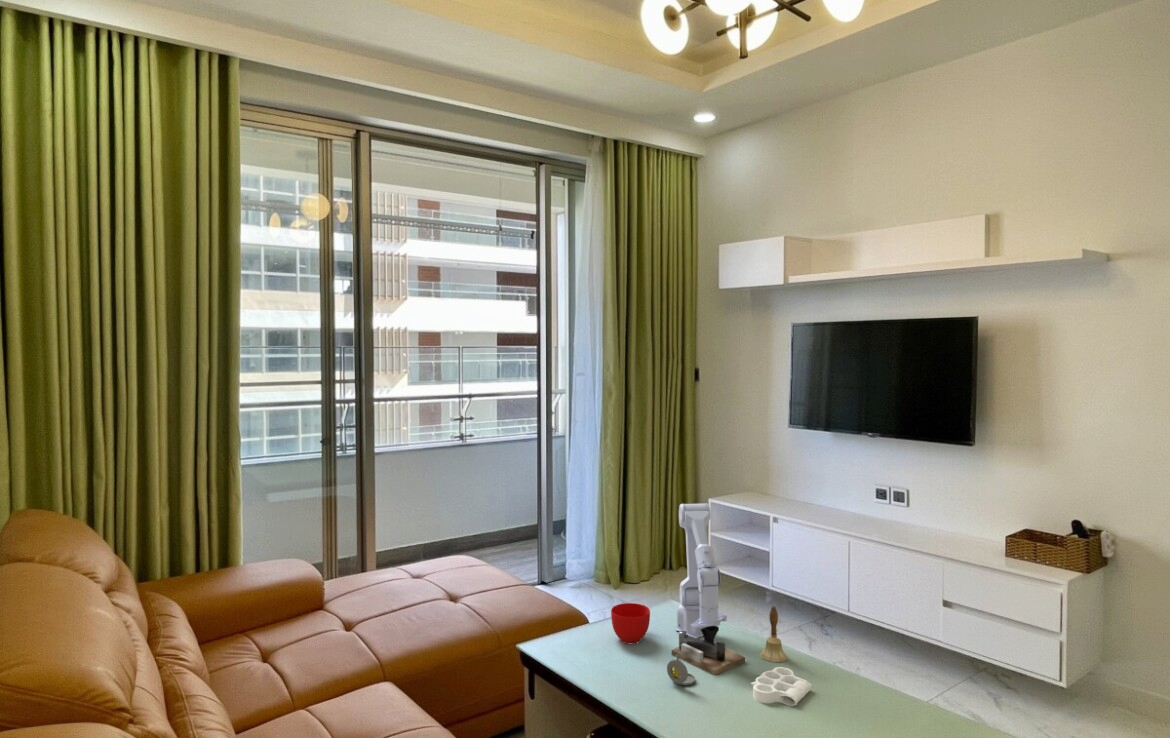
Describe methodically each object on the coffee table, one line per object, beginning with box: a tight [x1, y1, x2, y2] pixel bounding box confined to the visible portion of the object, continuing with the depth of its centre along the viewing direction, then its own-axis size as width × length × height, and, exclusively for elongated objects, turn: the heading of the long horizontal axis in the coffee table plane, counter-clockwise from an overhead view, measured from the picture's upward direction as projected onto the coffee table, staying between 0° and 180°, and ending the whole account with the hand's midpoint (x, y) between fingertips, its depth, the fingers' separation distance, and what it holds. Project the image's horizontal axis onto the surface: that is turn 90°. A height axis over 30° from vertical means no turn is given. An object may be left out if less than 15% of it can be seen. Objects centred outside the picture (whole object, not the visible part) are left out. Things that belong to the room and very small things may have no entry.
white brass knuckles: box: [750, 666, 813, 707], centre depth 200 cm, size 3×18×15 cm
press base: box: [671, 637, 746, 676], centre depth 221 cm, size 18×14×4 cm
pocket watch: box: [666, 652, 696, 686], centre depth 206 cm, size 8×8×10 cm
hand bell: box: [759, 605, 788, 663], centre depth 222 cm, size 8×8×16 cm
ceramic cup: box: [610, 602, 651, 644], centre depth 237 cm, size 13×17×10 cm
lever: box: [678, 631, 726, 661], centre depth 221 cm, size 16×3×5 cm, turn 54°
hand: (708, 648), depth 222 cm, fingers closed
